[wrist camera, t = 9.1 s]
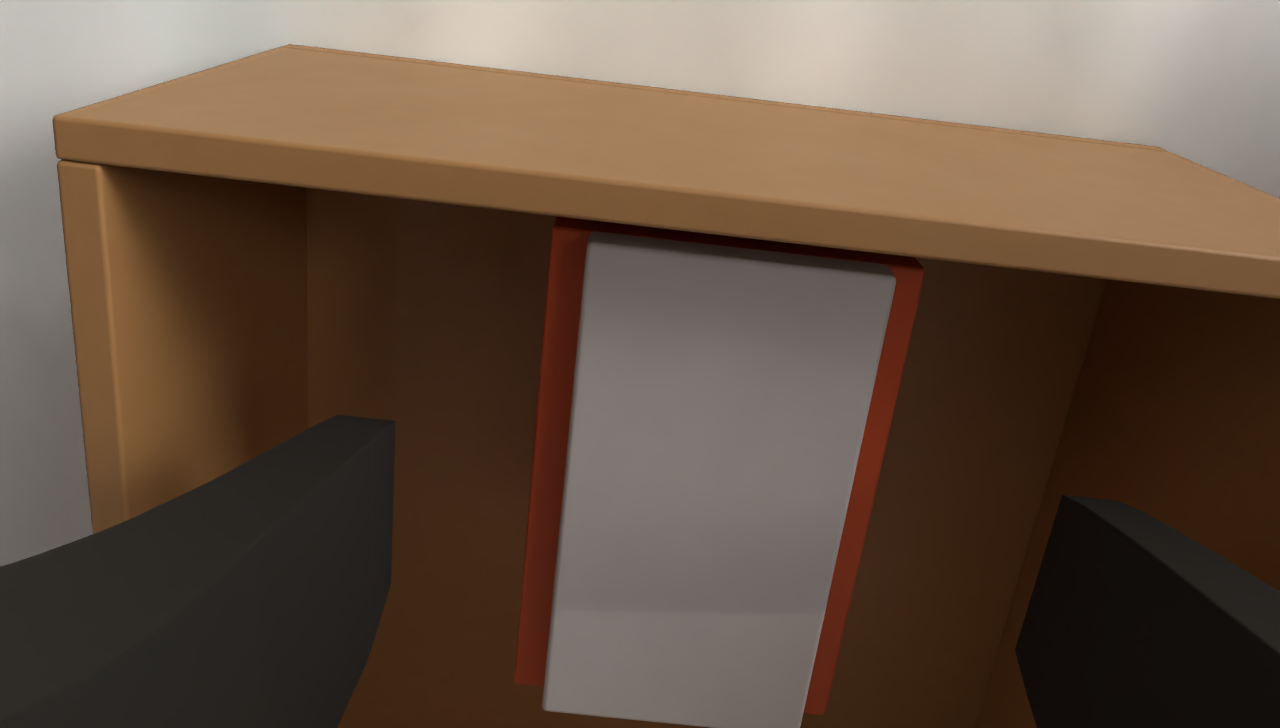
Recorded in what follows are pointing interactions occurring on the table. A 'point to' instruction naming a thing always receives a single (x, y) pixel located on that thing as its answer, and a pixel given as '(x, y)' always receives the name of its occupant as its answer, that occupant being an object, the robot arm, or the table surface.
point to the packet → (704, 469)
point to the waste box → (679, 200)
